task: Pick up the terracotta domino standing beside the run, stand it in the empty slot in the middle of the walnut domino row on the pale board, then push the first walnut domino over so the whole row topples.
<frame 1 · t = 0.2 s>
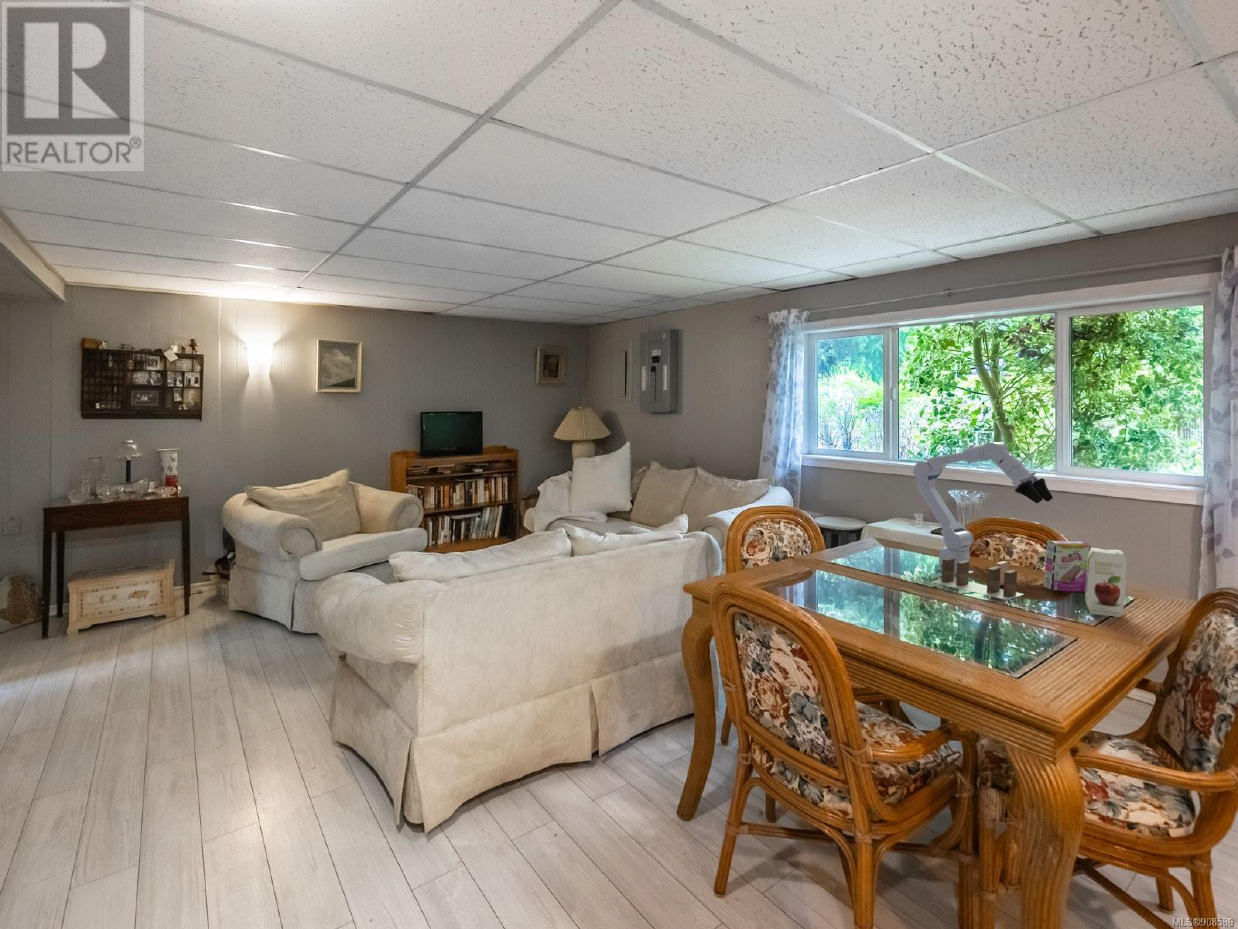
hand: (1045, 500, 198), 30 cm above the table, tool tilted 45°, fingers open, 7 cm apart
domino 5: (1009, 595, 195), resting on board
board: (975, 589, 203), on the table
candy bar box: (1065, 590, 201), on the table
domino 2: (962, 584, 207), resting on board
juice carton: (1103, 613, 179), on the table
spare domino: (1001, 585, 208), on the table
domino 4: (993, 591, 199), resting on board
domino 1: (947, 581, 211), resting on board
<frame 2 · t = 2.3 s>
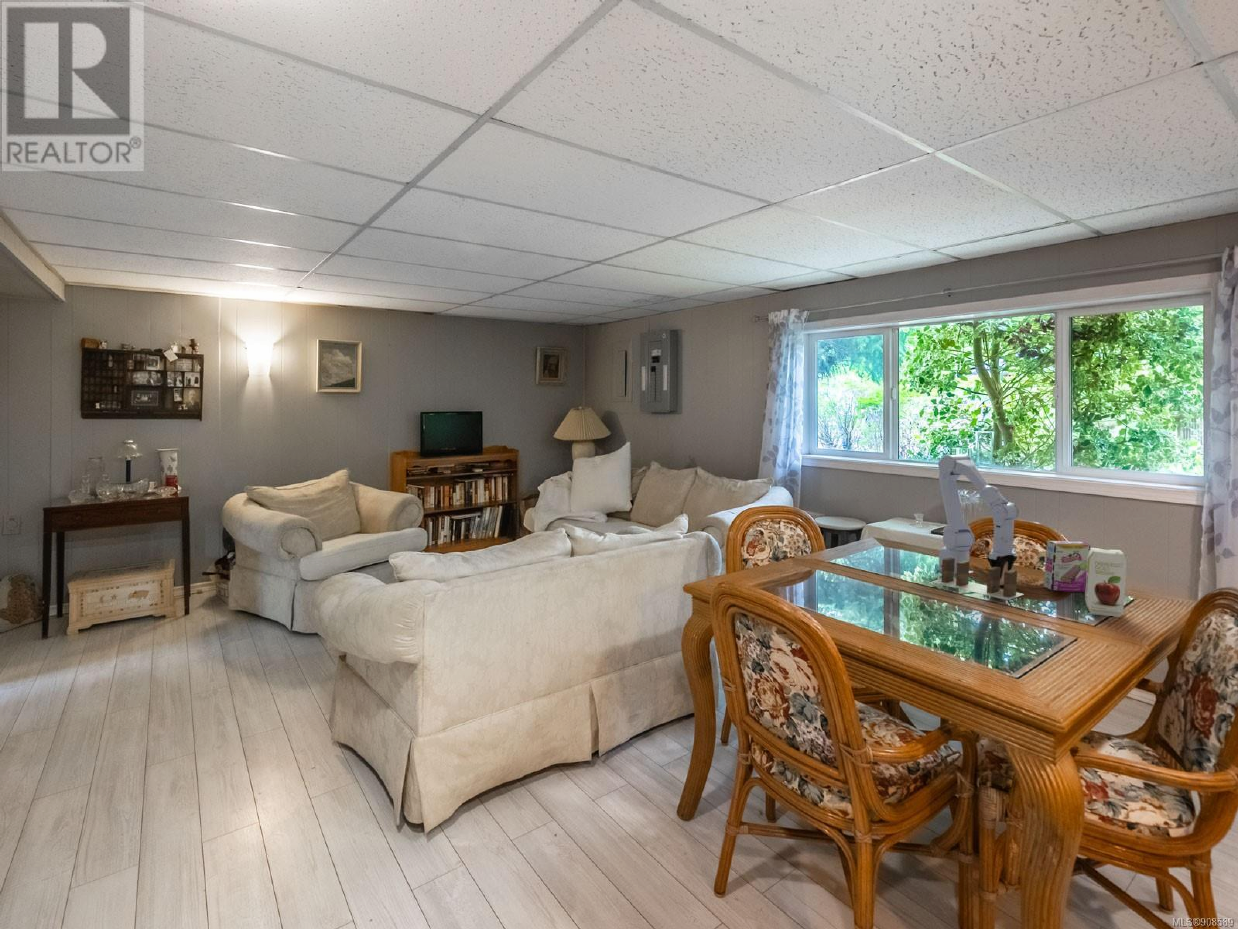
hand: (1001, 576, 208), 3 cm above the table, tool pointing down, fingers closed on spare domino, 5 cm apart
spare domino: (1001, 585, 208), on the table, touching gripper
everything else where it was.
when the fingers open (4 cm above the table, at t = 6.8 s): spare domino stays where it is, resting on board.
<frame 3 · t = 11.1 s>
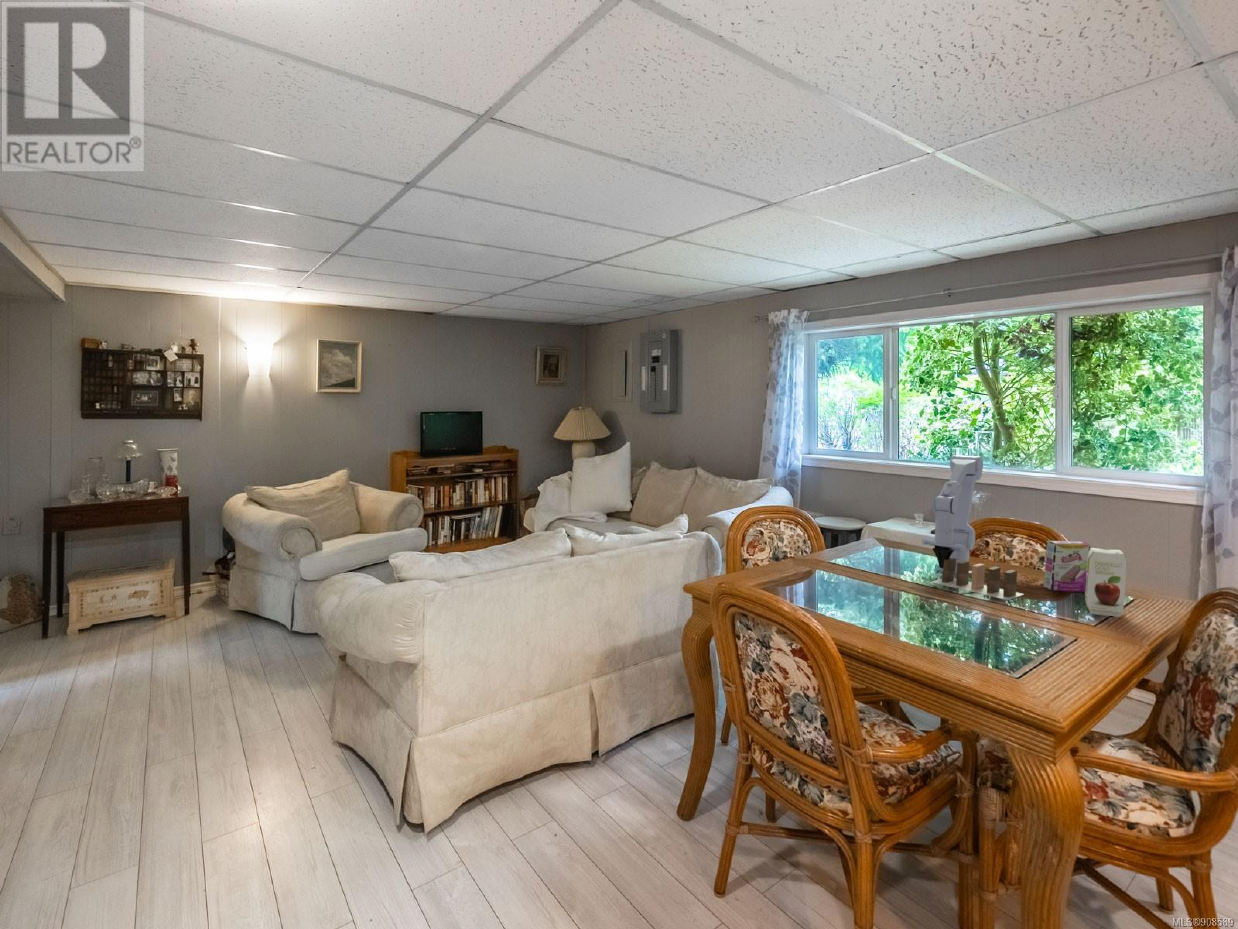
hand: (942, 567, 212), 5 cm above the table, tool pointing down, fingers closed
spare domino: (977, 588, 203), resting on board
everything else where it was.
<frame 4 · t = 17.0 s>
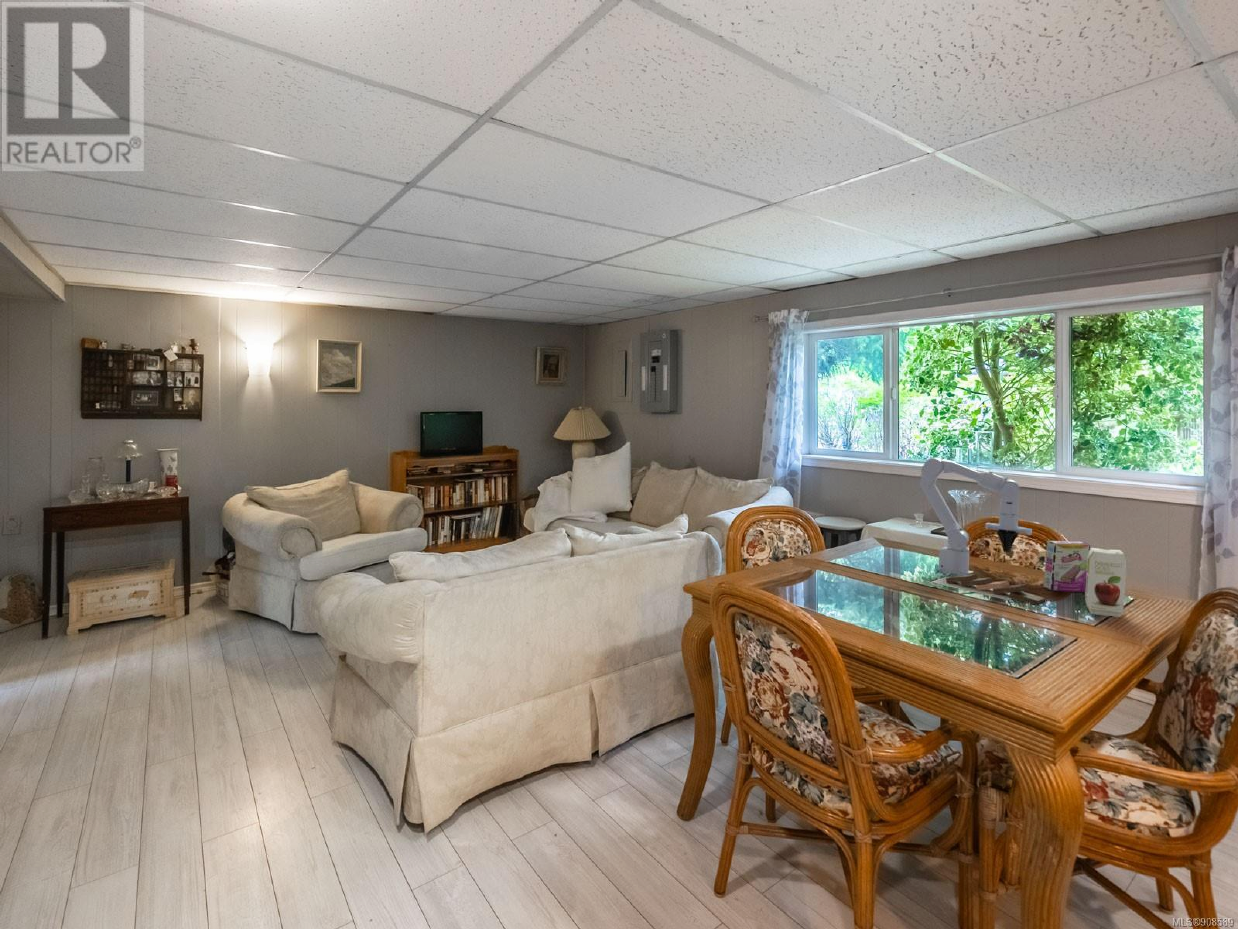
hand: (1007, 551, 215), 10 cm above the table, tool pointing down, fingers closed
domino 5: (1013, 593, 194), point 1 cm above the table, tilted 94°, touching board, domino 4
domino 2: (964, 583, 206), point 1 cm above the table, tilted 72°, touching board, domino 1, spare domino
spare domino: (980, 586, 202), point 1 cm above the table, tilted 72°, touching board, domino 2, domino 4
domino 4: (997, 590, 198), point 1 cm above the table, tilted 70°, touching board, domino 5, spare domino
domino 1: (950, 579, 211), point 1 cm above the table, tilted 71°, touching board, domino 2
everything else where it was.
at the end: domino 5 tilted 94°; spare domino inside the target area (0.0 cm from its centre), point 1.3 cm above the table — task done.
